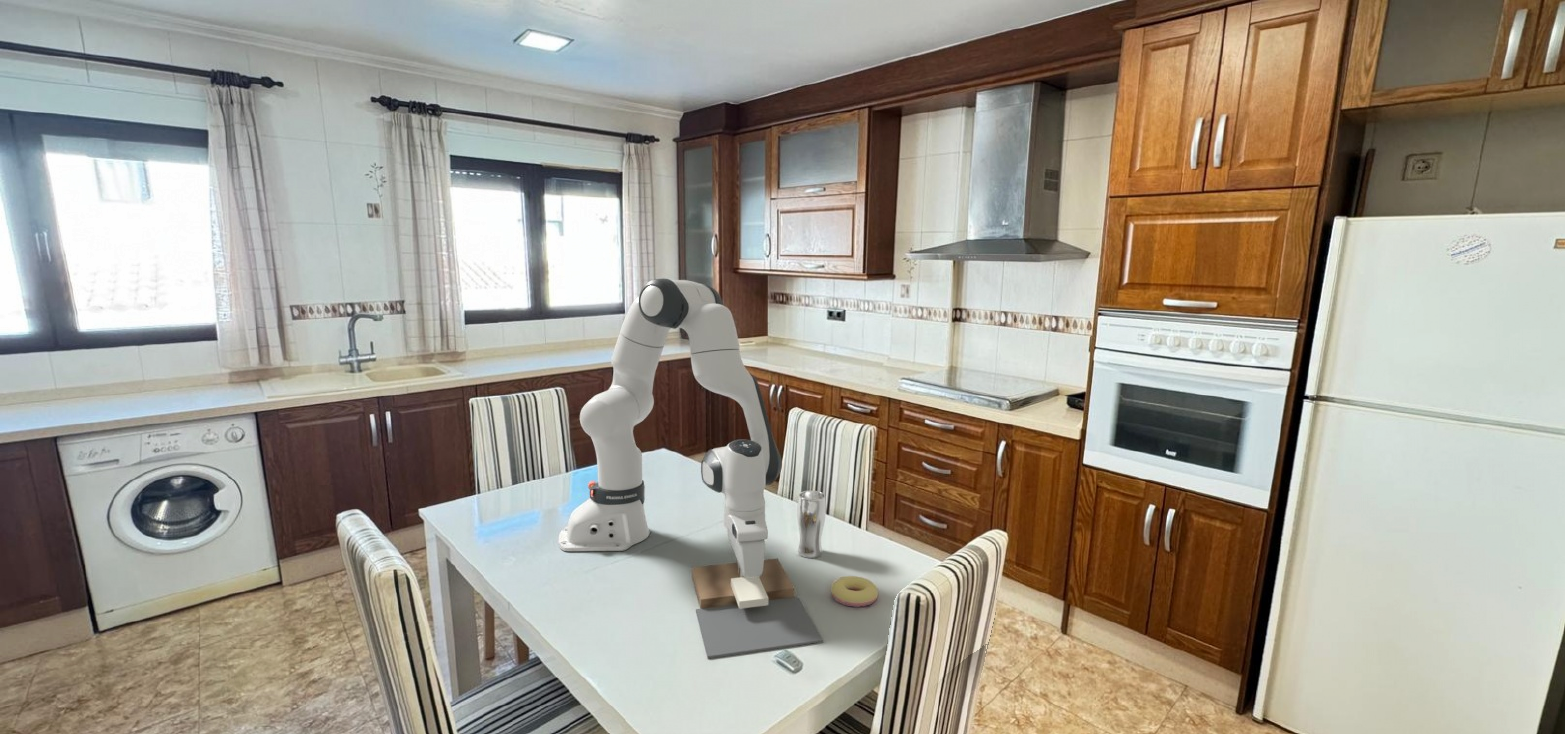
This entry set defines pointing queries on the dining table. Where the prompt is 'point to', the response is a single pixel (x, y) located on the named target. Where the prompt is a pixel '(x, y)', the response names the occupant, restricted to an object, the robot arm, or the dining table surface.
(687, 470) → the dining table surface
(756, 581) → the tile
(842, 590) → the donut
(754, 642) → the mat
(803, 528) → the beer glass
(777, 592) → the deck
